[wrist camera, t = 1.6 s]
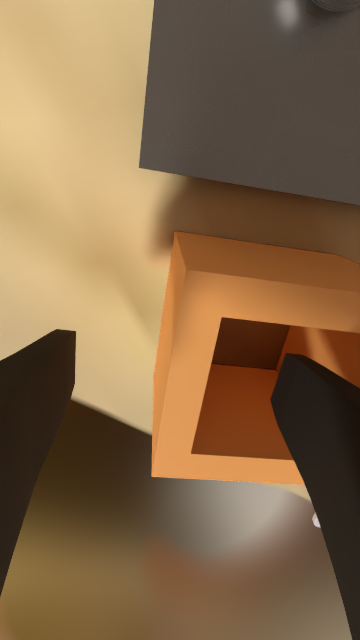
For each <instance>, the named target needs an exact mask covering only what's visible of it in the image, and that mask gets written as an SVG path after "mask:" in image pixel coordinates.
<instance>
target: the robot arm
mask: <svg viewBox="0 0 360 640" xmlns="http://www.w3.org/2000/svg"><path fill="white" fill-rule="evenodd" d="M75 351H76V331H69V330H59V329H56V330H54V331H52V332H50V333H49V334H47V335H45V336H43V337H42V338H40V339H38V340H37V341H35V342H33V343H32V344H30V345H28V346H27V347H25V348H23V349H21V350H20V351H18V352H16V353H14V354H13V355H11V356H9V357H7V358H5V359H3V360H1V361H0V595H1V592H2V589H3V586H4V582H5V579H6V575H7V572H8V569H9V565H10V562H11V559H12V555H13V552H14V549H15V545H16V542H17V539H18V536H19V533H20V530H21V526H22V523H23V519H24V517H25V514H26V511H27V507H28V505H29V501H30V498H31V495H32V492H33V489H34V486H35V483H36V481H37V478H38V476H39V473H40V471H41V468H42V466H43V464H44V462H45V459H46V457H47V455H48V452H49V450H50V448H51V446H52V443H53V441H54V439H55V437H56V434H57V432H58V430H59V427H60V425H61V423H62V421H63V418H64V416H65V414H66V411H67V409H68V405H69V402H70V399H71V395H72V392H73V388H74V384H75ZM270 401H271V404H272V408H273V412H274V415H275V418H276V421H277V425H278V427H279V429H280V432H281V434H282V436H283V438H284V440H285V443H286V445H287V447H288V449H289V451H290V453H291V456H292V458H293V460H294V462H295V464H296V466H297V468H298V471H299V473H300V475H301V477H302V479H303V481H304V484H305V486H306V488H307V491H308V493H309V496H310V498H311V501H312V504H313V507H314V509H315V514H314V516H313V518H312V520H313V522H314V525H315V526H317V527H321V530H322V533H323V536H324V539H325V542H326V546H327V549H328V552H329V555H330V558H331V561H332V564H333V568H334V572H335V575H336V579H337V582H338V586H339V590H340V593H341V596H342V600H343V604H344V607H345V611H346V615H347V619H348V623H349V627H350V632H351V636H352V640H360V388H359V387H357V386H355V385H354V384H352V383H350V382H349V381H347V380H345V379H344V378H342V377H341V376H339V375H337V374H336V373H334V372H333V371H331V370H329V369H328V368H326V367H324V366H323V365H321V364H319V363H318V362H316V361H314V360H312V359H310V358H308V357H306V356H304V355H301V354H291V353H286V354H285V357H284V360H283V363H282V366H281V369H280V372H279V375H278V378H277V381H276V384H275V387H274V390H273V393H272V396H271V399H270Z"/></svg>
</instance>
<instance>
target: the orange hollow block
mask: <svg viewBox="0 0 360 640" xmlns="http://www.w3.org/2000/svg"><path fill="white" fill-rule="evenodd" d="M222 317H227V318H235V319H244V320H252V321H261V322H269V323H278V324H286V325H290V328H289V331H288V334H287V337H286V340H285V343H284V346H283V350H282V353H281V356H280V359H279V362H278V365H277V368H276V370H269V369H259V368H249V367H238V366H228V365H218V364H211V362H212V358H213V353H214V349H215V344H216V340H217V336H218V331H219V327H220V322H221V318H222ZM286 353H291V354H301V355H304V356H306V357H308V358H310V359H312V360H314V361H316V362H318V363H319V364H321V365H323V366H324V367H326V368H328V369H329V370H331V371H333V372H334V373H336V374H337V375H339V376H341V377H342V378H344V379H345V380H347V381H349V382H350V383H352V384H354V385H355V386H357V387H359V388H360V265H359V264H357V263H355V262H353V261H350V260H348V259H346V258H344V257H342V256H339V255H333V254H326V253H320V252H313V251H306V250H299V249H293V248H286V247H279V246H272V245H266V244H259V243H252V242H245V241H239V240H232V239H225V238H219V237H212V236H205V235H198V234H192V233H185V232H178V231H175V233H174V240H173V247H172V254H171V261H170V268H169V275H168V282H167V289H166V296H165V303H164V310H163V317H162V324H161V330H160V337H159V344H158V351H157V358H156V365H155V372H154V386H153V436H152V477H169V478H187V479H206V480H226V481H245V482H262V483H281V484H299V485H305V484H304V481H303V479H302V477H301V475H300V473H299V471H298V468H297V466H296V464H295V462H294V460H293V458H292V456H291V453H290V451H289V449H288V447H287V445H286V443H285V440H284V438H283V436H282V434H281V432H280V429H279V427H278V425H277V421H276V418H275V415H274V412H273V408H272V404H271V401H270V399H271V396H272V393H273V390H274V387H275V384H276V381H277V378H278V375H279V372H280V369H281V366H282V363H283V360H284V357H285V354H286Z"/></svg>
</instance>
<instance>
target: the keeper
mask: <svg viewBox="0 0 360 640" xmlns="http://www.w3.org/2000/svg"><path fill="white" fill-rule="evenodd" d="M139 168H143V169H149V170H155V171H161V172H167V173H173V174H178V175H184V176H190V177H196V178H202V179H208V180H214V181H219V182H225V183H231V184H237V185H243V186H249V187H255V188H261V189H266V190H272V191H278V192H284V193H290V194H296V195H302V196H308V197H313V198H319V199H325V200H331V201H337V202H343V203H349V204H355V205H360V0H154V10H153V21H152V31H151V42H150V53H149V64H148V75H147V86H146V97H145V108H144V119H143V129H142V140H141V151H140V162H139Z"/></svg>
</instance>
